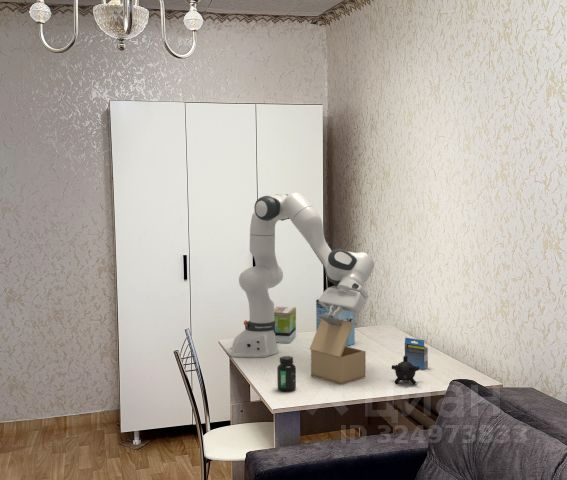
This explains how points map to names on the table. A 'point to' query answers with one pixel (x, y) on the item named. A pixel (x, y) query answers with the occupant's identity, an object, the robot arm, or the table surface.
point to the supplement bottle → (286, 374)
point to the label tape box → (416, 353)
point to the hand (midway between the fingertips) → (331, 316)
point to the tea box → (285, 324)
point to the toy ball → (405, 371)
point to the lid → (331, 335)
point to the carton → (339, 365)
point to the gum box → (342, 316)
